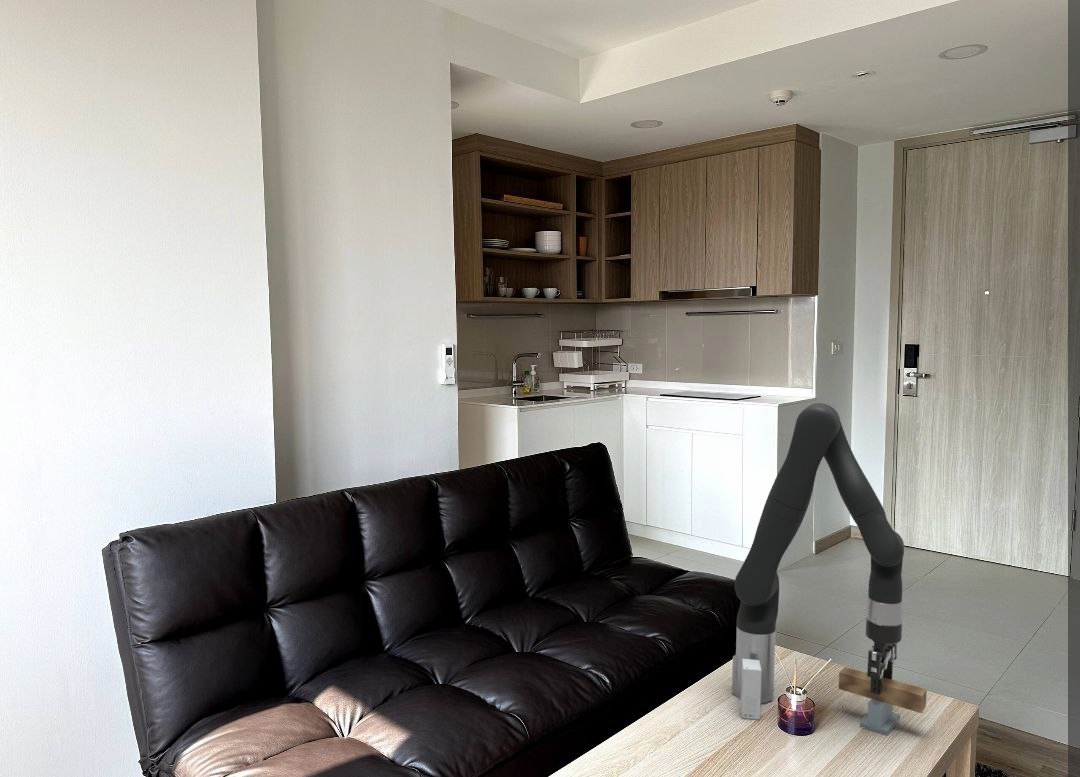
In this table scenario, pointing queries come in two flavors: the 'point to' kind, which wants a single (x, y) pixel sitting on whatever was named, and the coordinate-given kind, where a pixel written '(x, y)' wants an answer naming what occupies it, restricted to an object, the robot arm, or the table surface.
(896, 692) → the walnut batten
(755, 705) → the skincare box
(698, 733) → the table surface
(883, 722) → the ridge block
